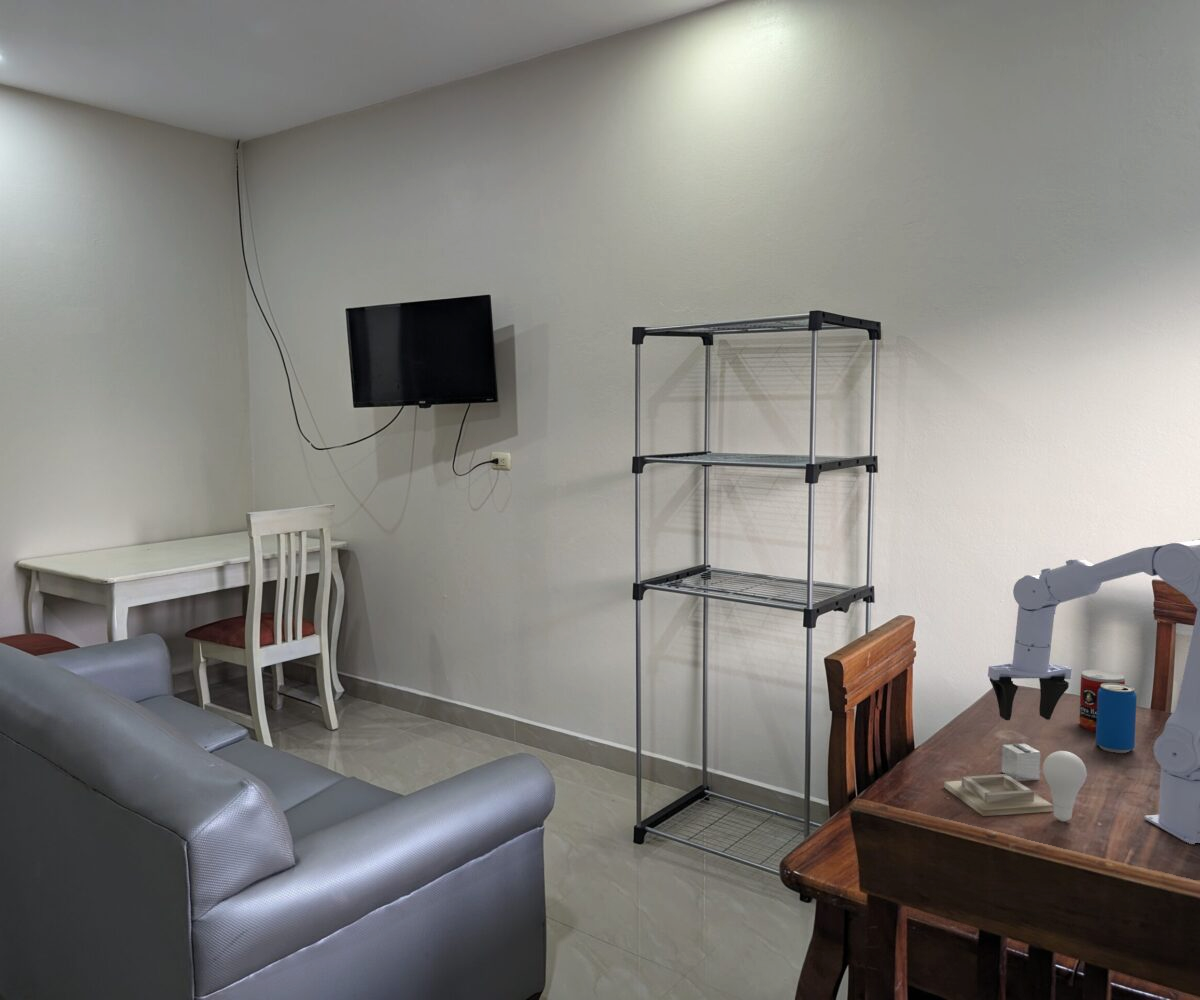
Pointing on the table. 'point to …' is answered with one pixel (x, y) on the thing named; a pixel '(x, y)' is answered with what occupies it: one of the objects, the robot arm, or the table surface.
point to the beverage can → (1116, 717)
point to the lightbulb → (1064, 781)
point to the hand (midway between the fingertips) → (1024, 717)
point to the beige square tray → (997, 795)
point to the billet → (1021, 762)
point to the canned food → (1094, 694)
